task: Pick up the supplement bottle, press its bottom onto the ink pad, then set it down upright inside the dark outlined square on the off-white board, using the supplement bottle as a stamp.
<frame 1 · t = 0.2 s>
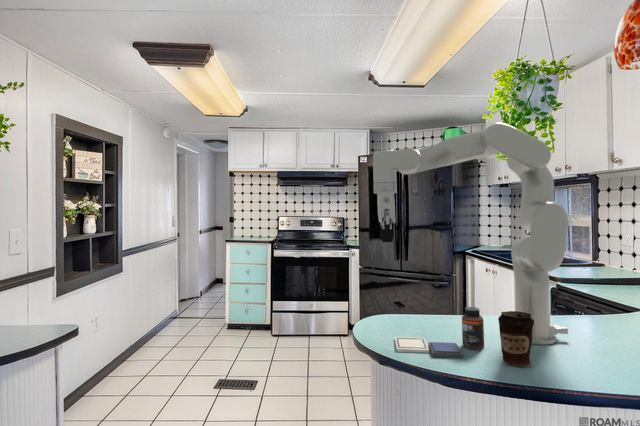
hand: (386, 240, 120), 31 cm above the counter, tool pointing down, fingers open, 9 cm apart
ink pad: (444, 352, 104), on the counter
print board: (411, 345, 109), on the counter
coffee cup: (516, 363, 96), on the counter
supplement bottle: (473, 347, 108), on the counter
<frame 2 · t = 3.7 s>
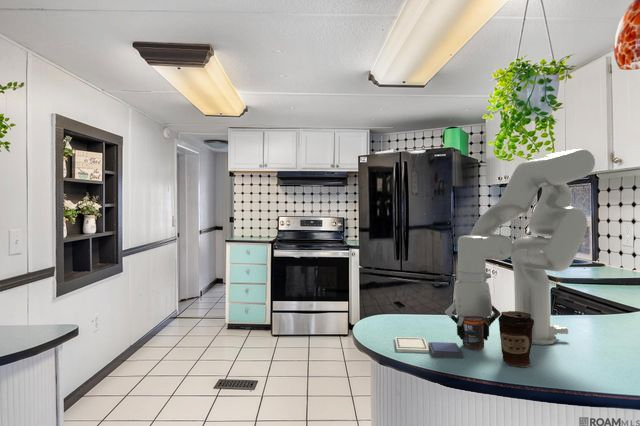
hand: (472, 337, 108), 3 cm above the counter, tool pointing down, fingers closed on supplement bottle, 6 cm apart
supplement bottle: (473, 347, 108), on the counter, touching gripper
everything else where it was.
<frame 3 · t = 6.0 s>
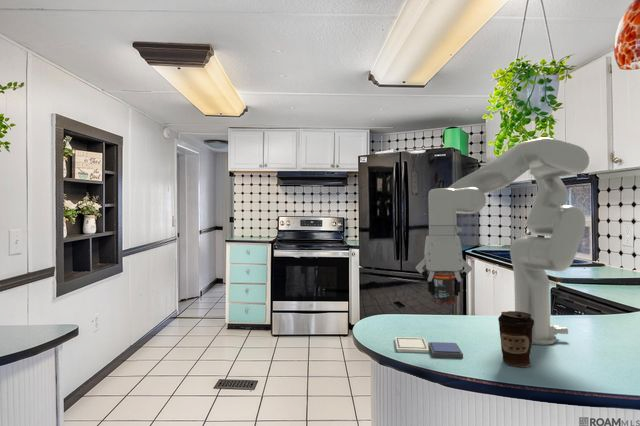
hand: (443, 294, 104), 17 cm above the counter, tool pointing down, fingers closed on supplement bottle, 6 cm apart
supplement bottle: (444, 303, 104), point 14 cm above the counter, touching gripper
everything else where it was.
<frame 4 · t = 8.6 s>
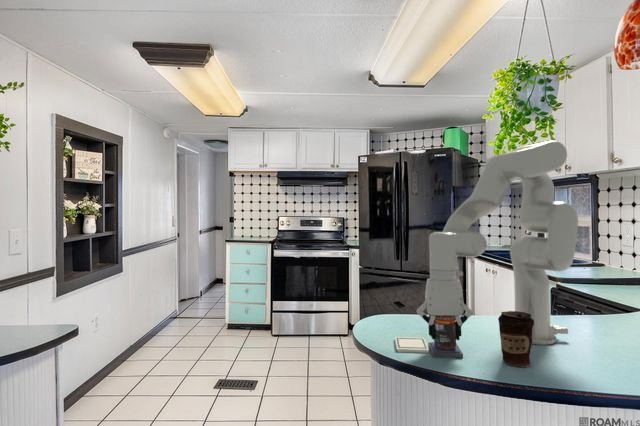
hand: (444, 337, 104), 4 cm above the counter, tool pointing down, fingers closed on supplement bottle, 6 cm apart
supplement bottle: (445, 347, 104), point 1 cm above the counter, touching gripper, ink pad
everything else where it was.
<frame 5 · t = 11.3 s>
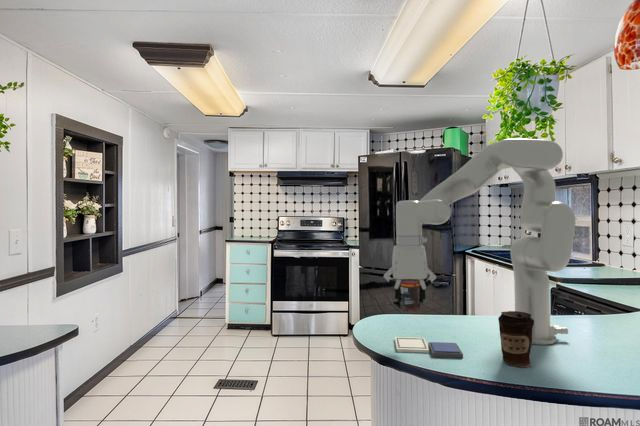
hand: (410, 301, 109), 13 cm above the counter, tool pointing down, fingers closed on supplement bottle, 6 cm apart
supplement bottle: (410, 310, 109), point 11 cm above the counter, touching gripper
everything else where it was.
when the fingers open (3 cm above the counter, at t = 13.5 s): supplement bottle stays where it is, resting on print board.
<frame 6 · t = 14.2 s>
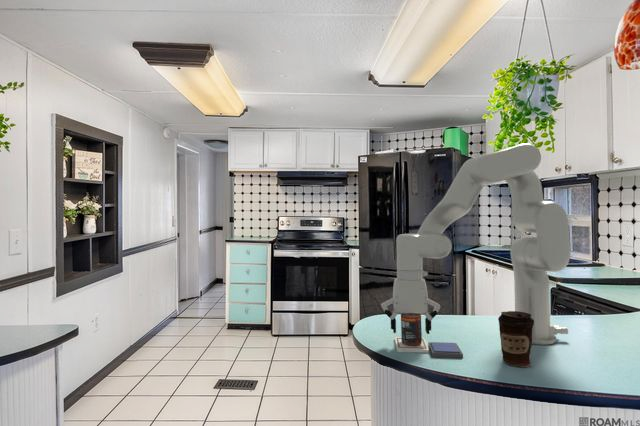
hand: (410, 332, 109), 4 cm above the counter, tool pointing down, fingers open, 9 cm apart
supplement bottle: (411, 343, 109), point 1 cm above the counter, touching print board
everything else where it was.
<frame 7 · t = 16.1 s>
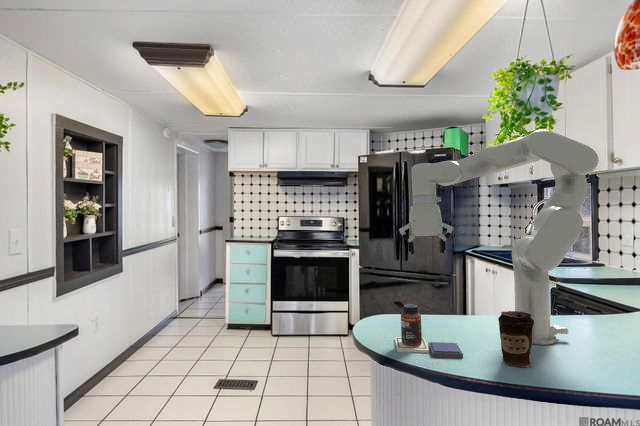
hand: (427, 253, 120), 26 cm above the counter, tool pointing down, fingers open, 9 cm apart
nothing on the counter moved.
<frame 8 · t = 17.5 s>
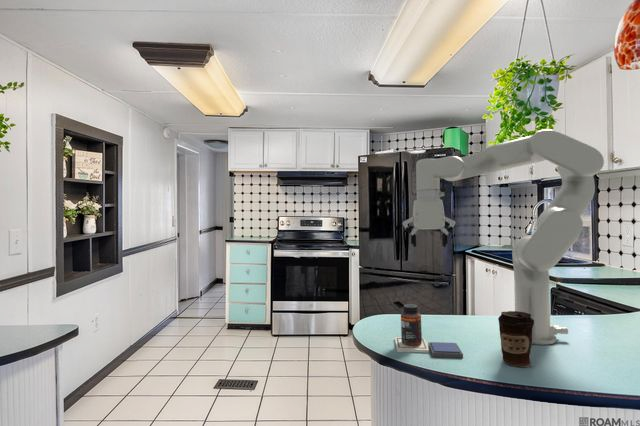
hand: (429, 246, 123), 28 cm above the counter, tool pointing down, fingers open, 9 cm apart
nothing on the counter moved.
at the end: supplement bottle 0.1 cm off-centre on the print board, point 0.6 cm above the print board's base; supplement bottle tilted 0°; the gripper is holding nothing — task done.
